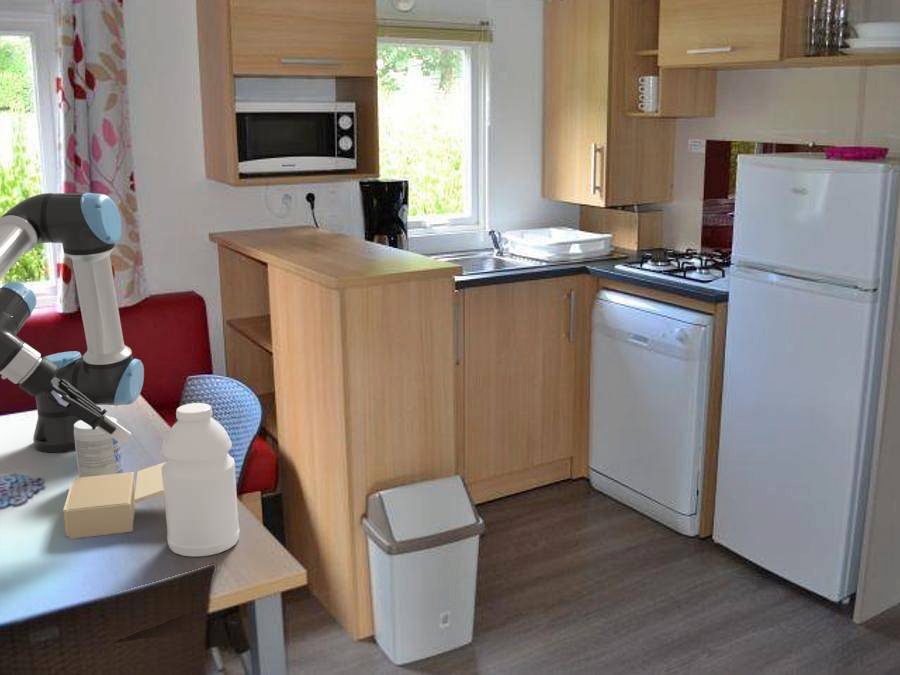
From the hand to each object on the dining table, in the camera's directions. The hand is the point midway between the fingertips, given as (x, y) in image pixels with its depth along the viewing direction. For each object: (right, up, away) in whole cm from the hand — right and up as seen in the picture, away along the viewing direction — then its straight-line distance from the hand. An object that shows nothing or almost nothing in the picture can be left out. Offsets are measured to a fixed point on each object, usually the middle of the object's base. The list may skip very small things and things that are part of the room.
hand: (126, 438), depth 197 cm
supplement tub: (-13, -13, +20) cm, 27 cm away
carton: (-5, -17, +2) cm, 18 cm away
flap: (+1, -10, +2) cm, 11 cm away
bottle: (+19, -20, -9) cm, 29 cm away
